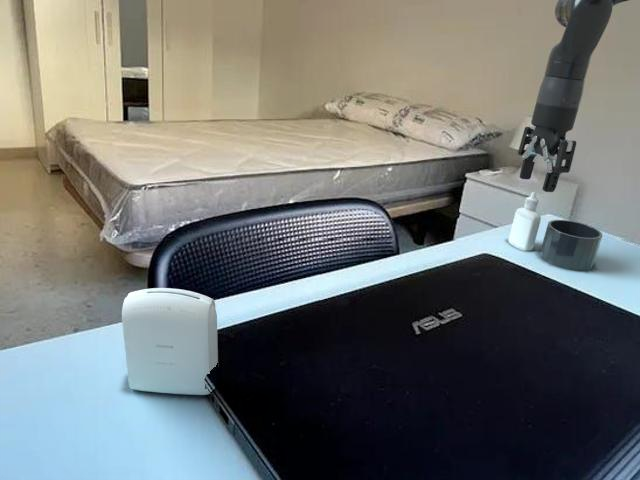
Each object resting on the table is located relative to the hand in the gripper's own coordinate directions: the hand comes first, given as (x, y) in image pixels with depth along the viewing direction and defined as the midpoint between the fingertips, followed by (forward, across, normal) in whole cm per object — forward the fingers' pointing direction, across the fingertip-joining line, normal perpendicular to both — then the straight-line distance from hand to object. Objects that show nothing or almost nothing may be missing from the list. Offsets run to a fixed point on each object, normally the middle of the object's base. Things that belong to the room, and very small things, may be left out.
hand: (535, 184), depth 101 cm
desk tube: (+14, -7, -6) cm, 16 cm away
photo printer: (+14, -40, +67) cm, 79 cm away
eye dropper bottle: (+14, 0, 0) cm, 14 cm away
